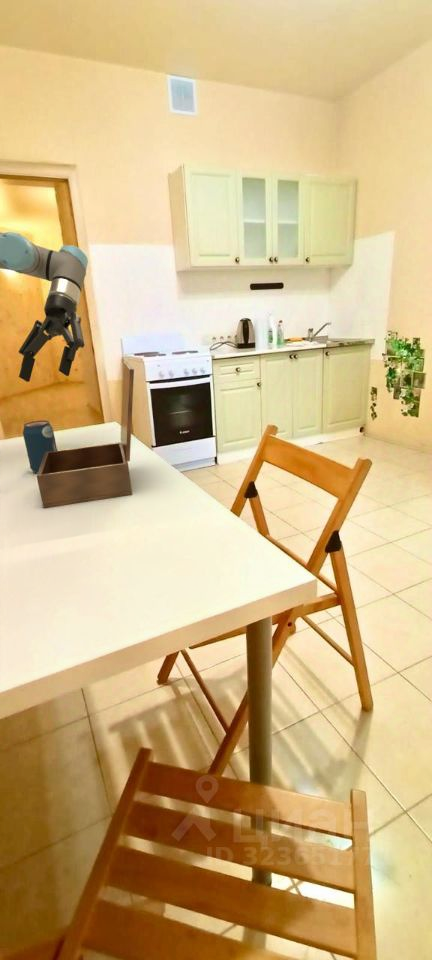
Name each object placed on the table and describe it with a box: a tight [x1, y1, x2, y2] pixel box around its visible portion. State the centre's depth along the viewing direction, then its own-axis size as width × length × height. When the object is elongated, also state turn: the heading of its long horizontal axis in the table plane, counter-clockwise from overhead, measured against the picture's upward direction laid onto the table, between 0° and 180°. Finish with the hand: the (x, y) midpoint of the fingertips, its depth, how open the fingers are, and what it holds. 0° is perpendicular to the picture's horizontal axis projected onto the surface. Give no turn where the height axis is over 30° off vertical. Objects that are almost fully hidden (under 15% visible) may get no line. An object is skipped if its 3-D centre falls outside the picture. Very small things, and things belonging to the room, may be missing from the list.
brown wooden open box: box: [36, 441, 133, 509], centre depth 98 cm, size 18×18×7 cm
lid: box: [120, 361, 135, 462], centre depth 95 cm, size 18×18×1 cm
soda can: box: [22, 420, 58, 475], centre depth 110 cm, size 7×7×12 cm
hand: (43, 376), depth 110 cm, fingers open, 13 cm apart
